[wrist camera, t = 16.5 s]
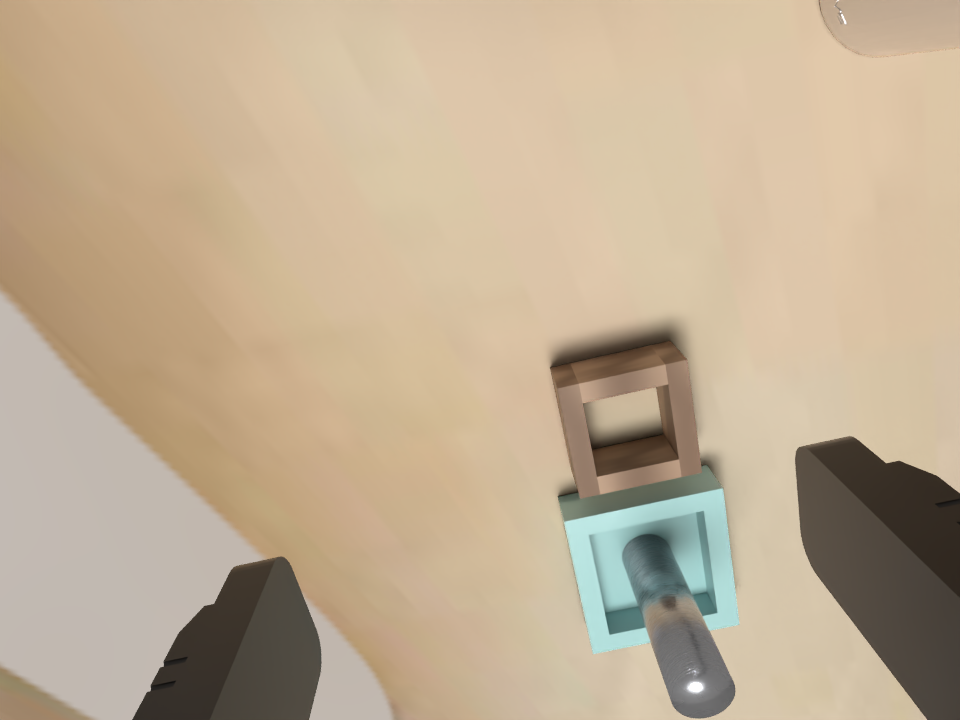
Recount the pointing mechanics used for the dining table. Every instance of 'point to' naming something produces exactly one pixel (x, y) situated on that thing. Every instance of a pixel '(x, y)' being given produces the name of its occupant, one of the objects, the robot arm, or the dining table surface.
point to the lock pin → (677, 630)
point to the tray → (659, 511)
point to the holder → (639, 457)
